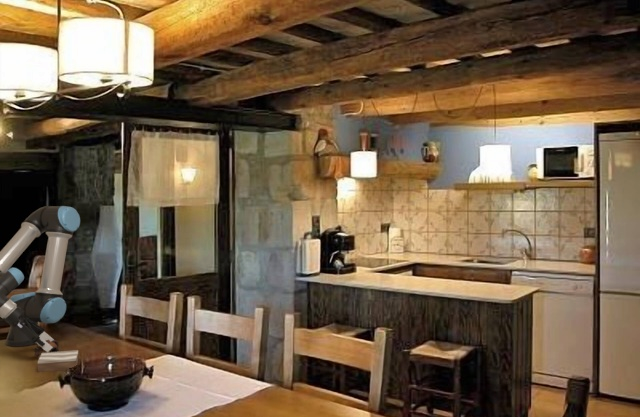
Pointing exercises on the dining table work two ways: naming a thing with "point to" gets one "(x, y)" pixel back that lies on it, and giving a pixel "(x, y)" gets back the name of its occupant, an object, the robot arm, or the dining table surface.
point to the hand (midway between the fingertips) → (51, 346)
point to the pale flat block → (58, 360)
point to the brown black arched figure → (54, 349)
